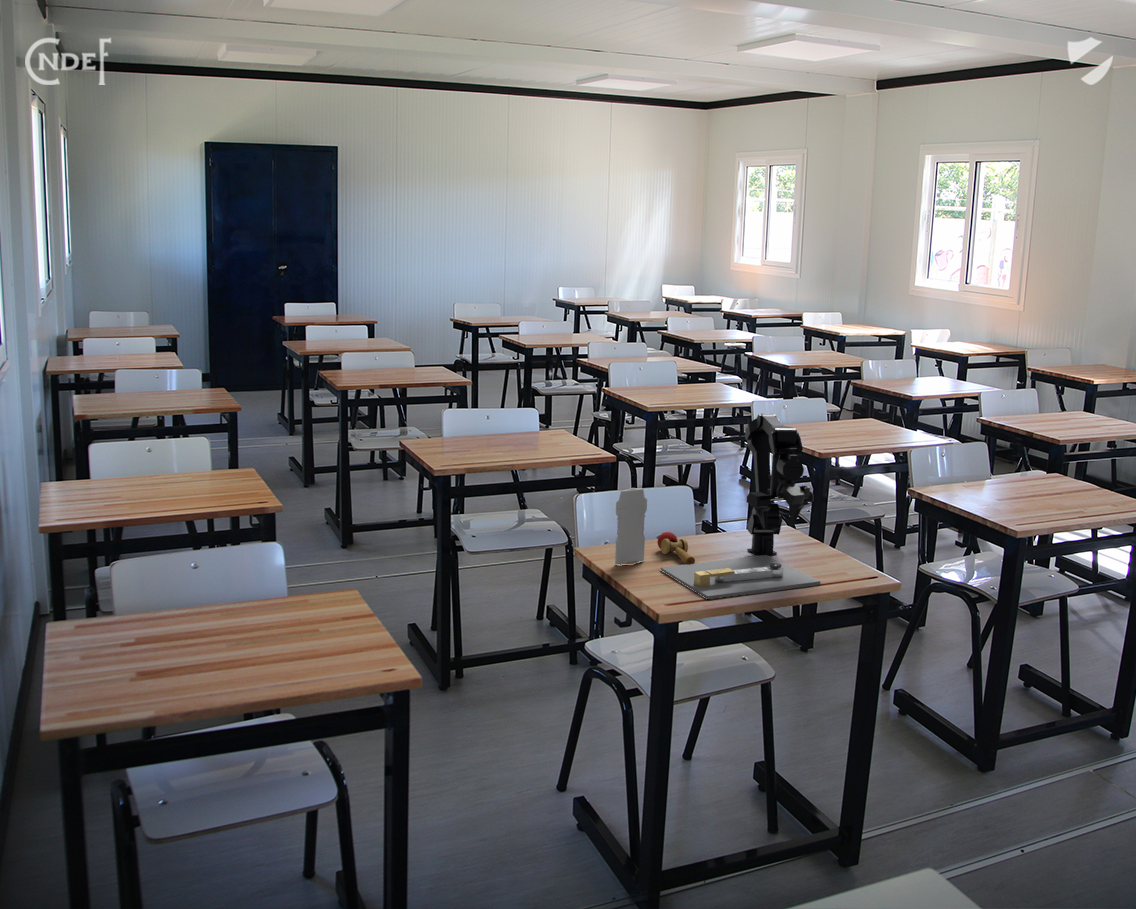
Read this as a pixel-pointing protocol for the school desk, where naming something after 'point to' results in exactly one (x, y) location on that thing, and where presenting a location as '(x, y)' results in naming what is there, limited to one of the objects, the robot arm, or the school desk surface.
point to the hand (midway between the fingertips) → (778, 527)
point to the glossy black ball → (775, 565)
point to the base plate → (742, 587)
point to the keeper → (704, 577)
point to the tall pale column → (630, 526)
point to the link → (751, 574)
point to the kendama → (675, 546)
